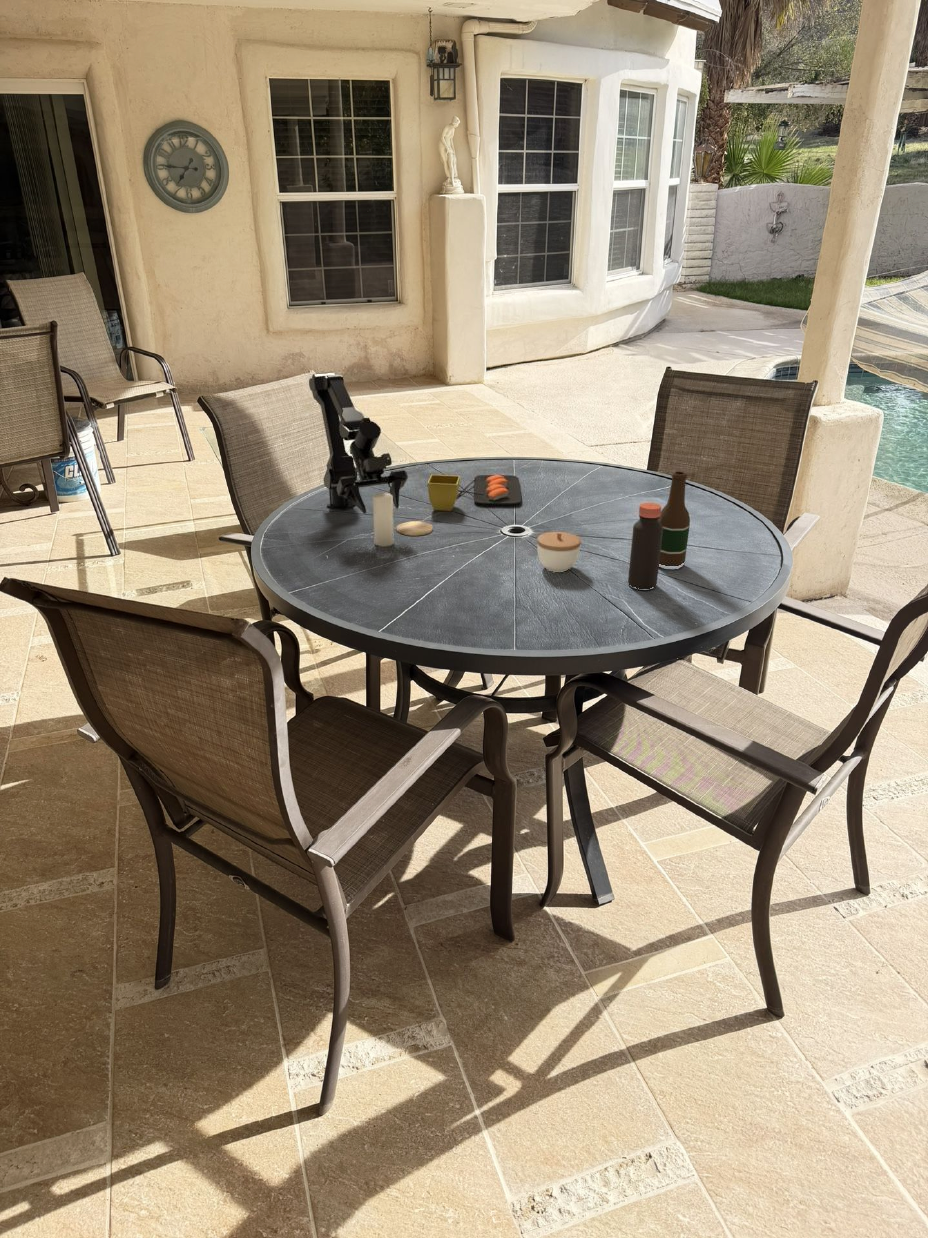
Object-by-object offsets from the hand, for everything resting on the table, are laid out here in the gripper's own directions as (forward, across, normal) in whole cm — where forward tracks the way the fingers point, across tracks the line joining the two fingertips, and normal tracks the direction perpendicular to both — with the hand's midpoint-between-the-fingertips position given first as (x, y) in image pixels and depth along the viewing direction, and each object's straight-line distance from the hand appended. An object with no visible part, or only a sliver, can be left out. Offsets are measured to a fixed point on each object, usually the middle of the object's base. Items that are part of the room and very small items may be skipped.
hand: (381, 510), depth 229 cm
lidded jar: (+32, +32, -19) cm, 50 cm away
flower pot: (-6, +27, +19) cm, 33 cm away
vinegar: (+45, +45, -32) cm, 71 cm away
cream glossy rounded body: (+7, 0, +5) cm, 9 cm away
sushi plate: (-14, +42, +27) cm, 51 cm away
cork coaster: (+3, +12, +10) cm, 15 cm away
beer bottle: (+40, +59, -26) cm, 76 cm away
